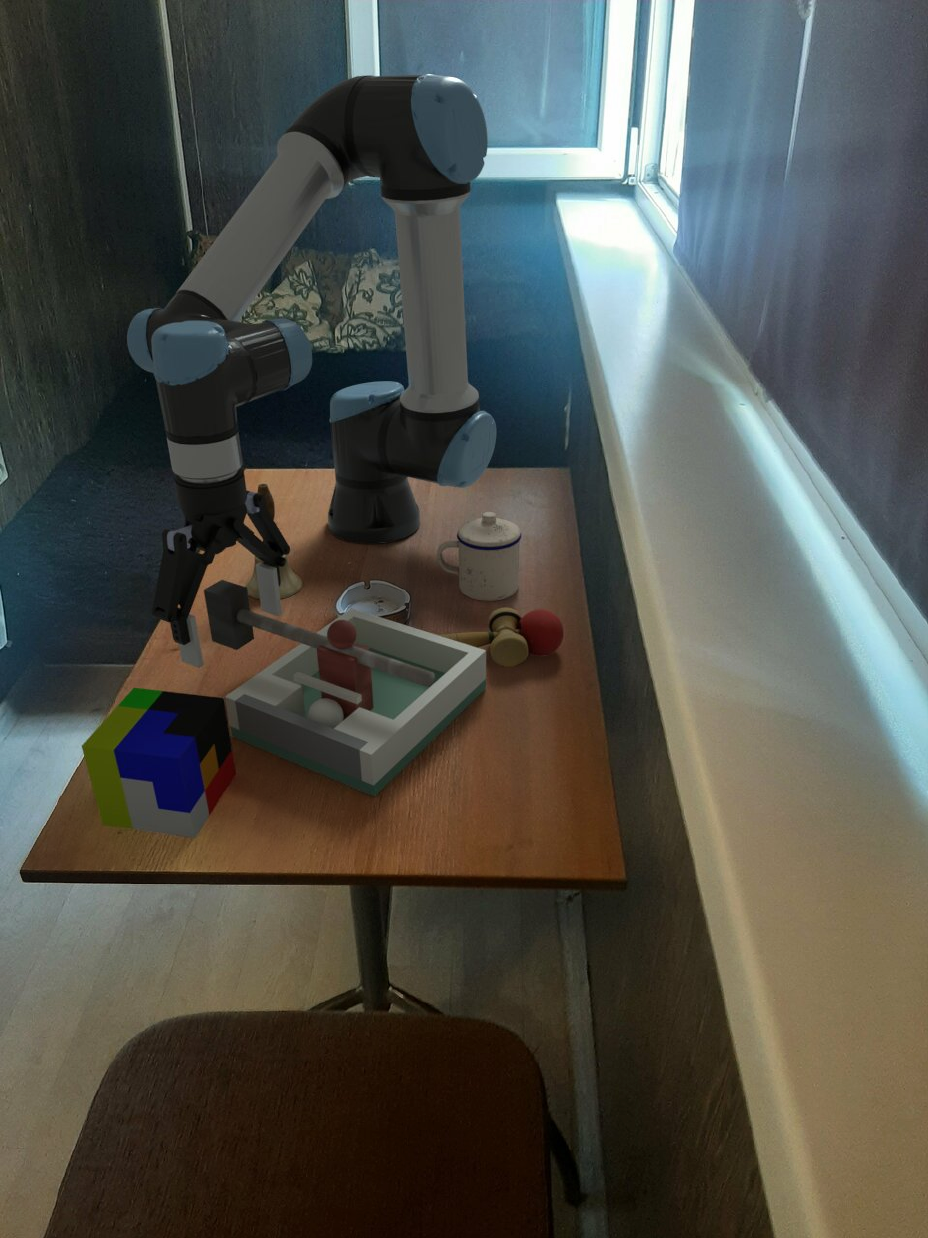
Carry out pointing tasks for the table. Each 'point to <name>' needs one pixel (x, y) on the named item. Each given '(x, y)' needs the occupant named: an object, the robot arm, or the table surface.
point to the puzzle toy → (161, 761)
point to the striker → (334, 652)
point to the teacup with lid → (486, 558)
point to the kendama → (516, 635)
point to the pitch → (365, 739)
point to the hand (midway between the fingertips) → (234, 637)
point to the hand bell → (288, 578)
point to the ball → (326, 712)
